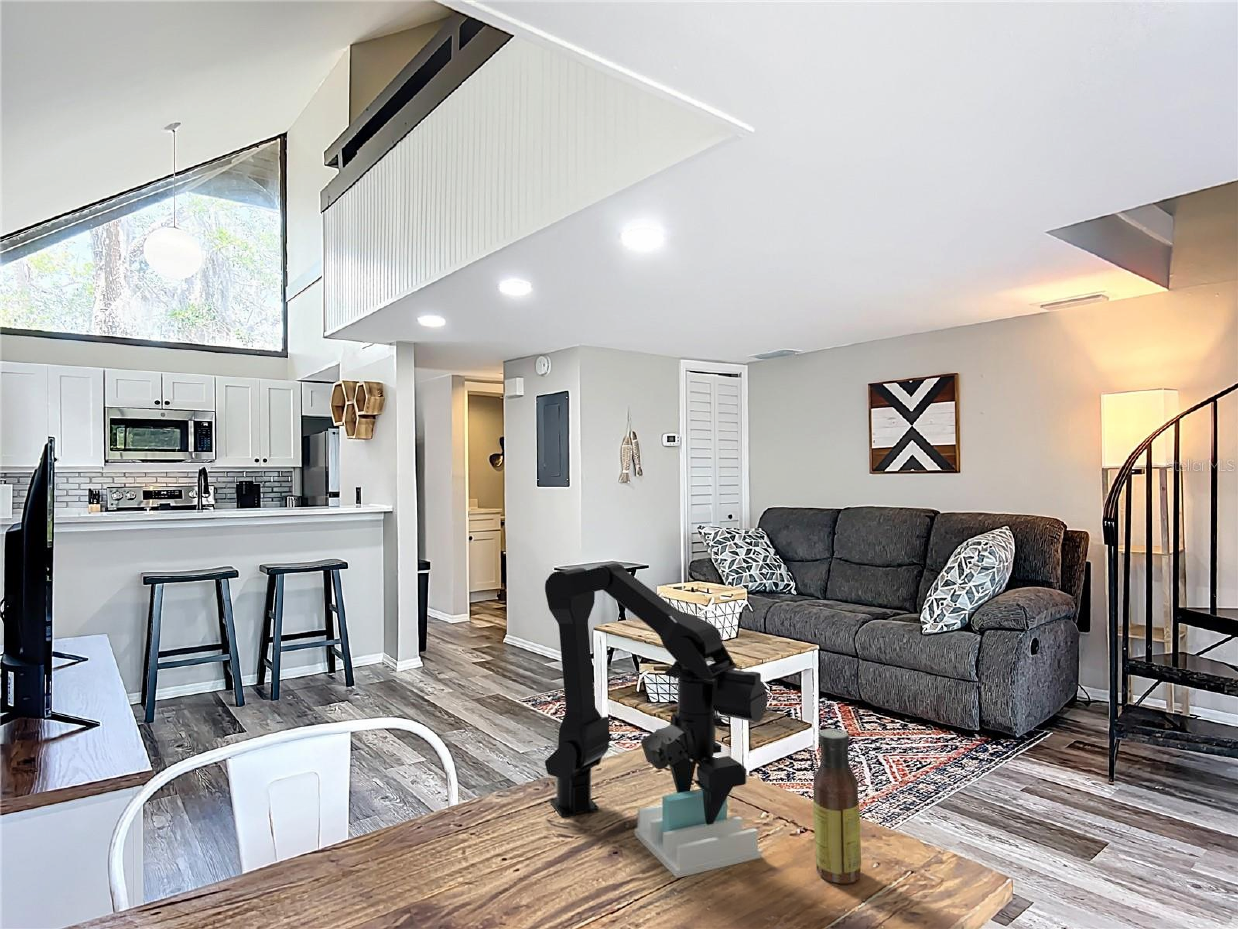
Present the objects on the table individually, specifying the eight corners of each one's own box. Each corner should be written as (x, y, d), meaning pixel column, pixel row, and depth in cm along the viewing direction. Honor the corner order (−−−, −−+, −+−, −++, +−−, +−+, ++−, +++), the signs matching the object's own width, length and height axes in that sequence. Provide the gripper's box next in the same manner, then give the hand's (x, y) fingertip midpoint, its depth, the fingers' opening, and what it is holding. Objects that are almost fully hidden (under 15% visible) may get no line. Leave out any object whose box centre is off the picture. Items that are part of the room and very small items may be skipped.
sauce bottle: (856, 864, 110) (856, 726, 111) (865, 888, 104) (866, 741, 104) (809, 862, 111) (810, 724, 111) (816, 885, 105) (817, 739, 105)
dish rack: (634, 835, 119) (634, 809, 119) (712, 819, 125) (712, 794, 125) (676, 878, 107) (676, 849, 107) (761, 857, 112) (761, 830, 112)
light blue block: (662, 843, 114) (662, 796, 114) (719, 830, 119) (720, 785, 119) (668, 849, 113) (668, 801, 113) (726, 836, 117) (727, 790, 117)
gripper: (622, 698, 121) (621, 797, 121) (679, 736, 104) (678, 852, 104) (684, 690, 126) (683, 786, 125) (749, 725, 109) (748, 836, 108)
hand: (696, 812), depth 116 cm, fingers open, 8 cm apart
